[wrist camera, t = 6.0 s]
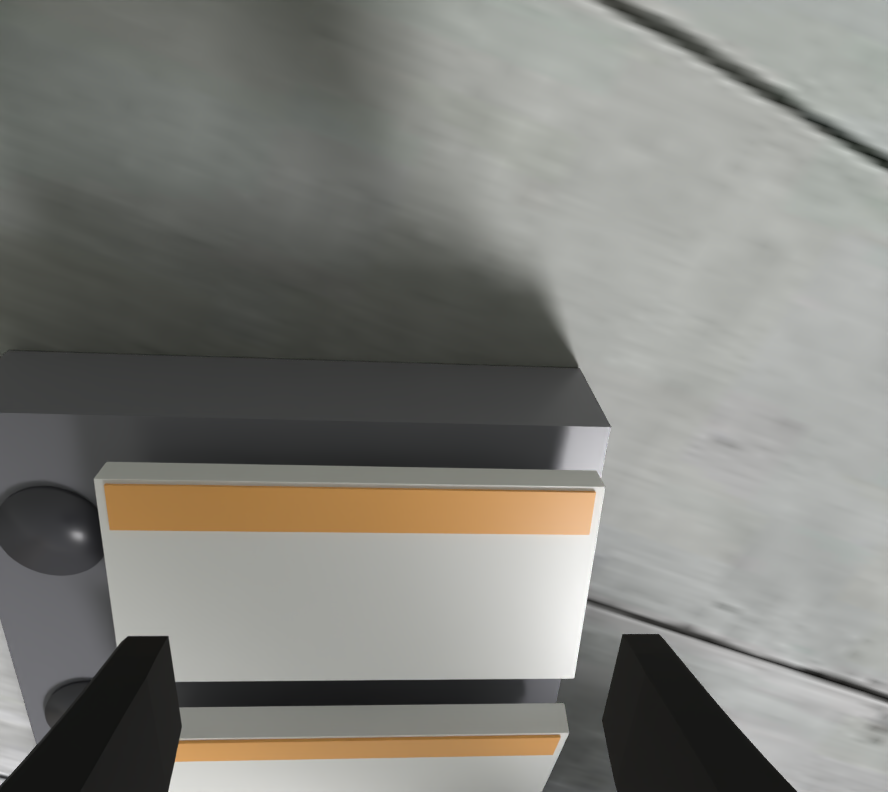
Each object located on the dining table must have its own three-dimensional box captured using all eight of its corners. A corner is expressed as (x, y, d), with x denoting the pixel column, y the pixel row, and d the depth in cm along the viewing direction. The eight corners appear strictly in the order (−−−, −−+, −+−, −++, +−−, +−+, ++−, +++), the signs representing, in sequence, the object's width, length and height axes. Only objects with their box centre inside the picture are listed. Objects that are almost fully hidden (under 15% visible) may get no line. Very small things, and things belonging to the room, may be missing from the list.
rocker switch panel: (505, 805, 27) (519, 896, 24) (114, 815, 26) (82, 912, 23) (579, 368, 19) (612, 430, 16) (7, 350, 18) (-64, 415, 15)
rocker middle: (528, 767, 21) (534, 811, 20) (173, 773, 20) (163, 820, 19) (561, 687, 18) (569, 735, 17) (136, 691, 17) (123, 743, 16)
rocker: (563, 645, 18) (575, 680, 17) (137, 646, 17) (120, 684, 16) (591, 461, 16) (606, 488, 15) (113, 452, 15) (92, 480, 14)
